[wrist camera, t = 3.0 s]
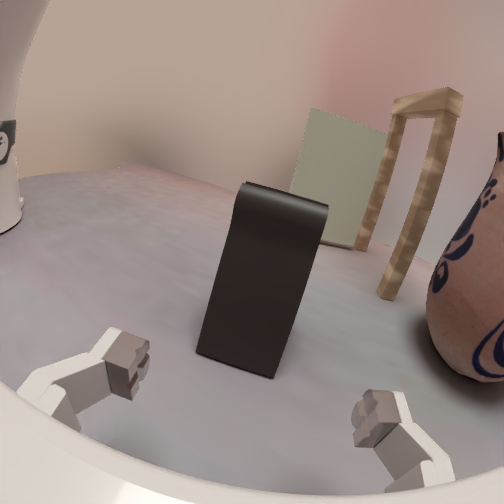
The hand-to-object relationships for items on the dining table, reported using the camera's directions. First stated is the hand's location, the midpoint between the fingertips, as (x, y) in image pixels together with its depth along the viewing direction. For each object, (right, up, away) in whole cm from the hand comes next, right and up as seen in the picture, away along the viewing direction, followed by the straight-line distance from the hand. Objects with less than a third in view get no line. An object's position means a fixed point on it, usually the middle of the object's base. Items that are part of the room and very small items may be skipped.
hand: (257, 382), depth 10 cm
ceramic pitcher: (+26, -9, +15) cm, 31 cm away
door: (+11, +7, +39) cm, 41 cm away
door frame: (+18, +2, +33) cm, 38 cm away
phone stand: (-1, -2, +15) cm, 15 cm away
